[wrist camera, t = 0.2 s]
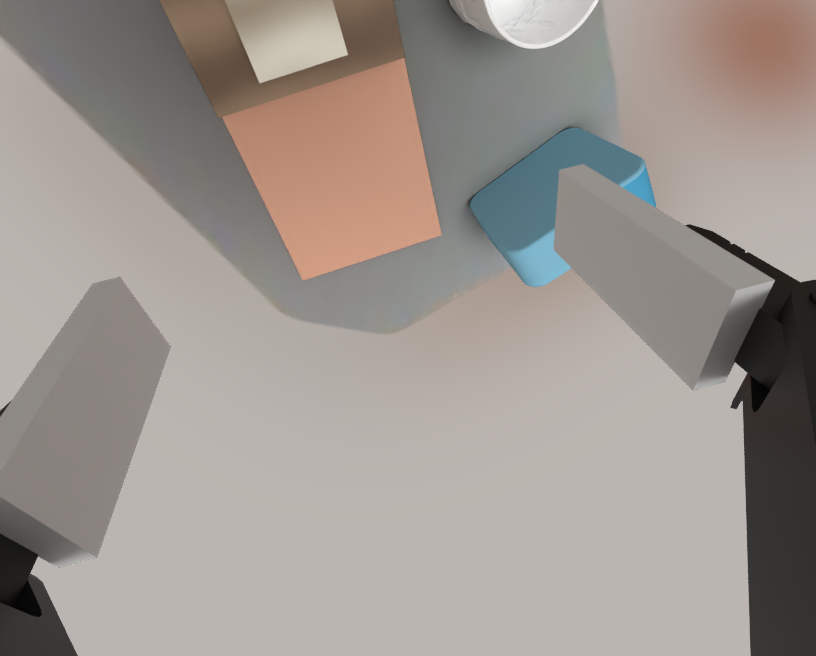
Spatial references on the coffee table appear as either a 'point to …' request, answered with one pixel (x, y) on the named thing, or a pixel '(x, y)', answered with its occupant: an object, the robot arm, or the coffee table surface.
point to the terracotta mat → (341, 168)
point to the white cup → (525, 19)
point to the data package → (548, 199)
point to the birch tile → (287, 34)
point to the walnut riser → (240, 89)
